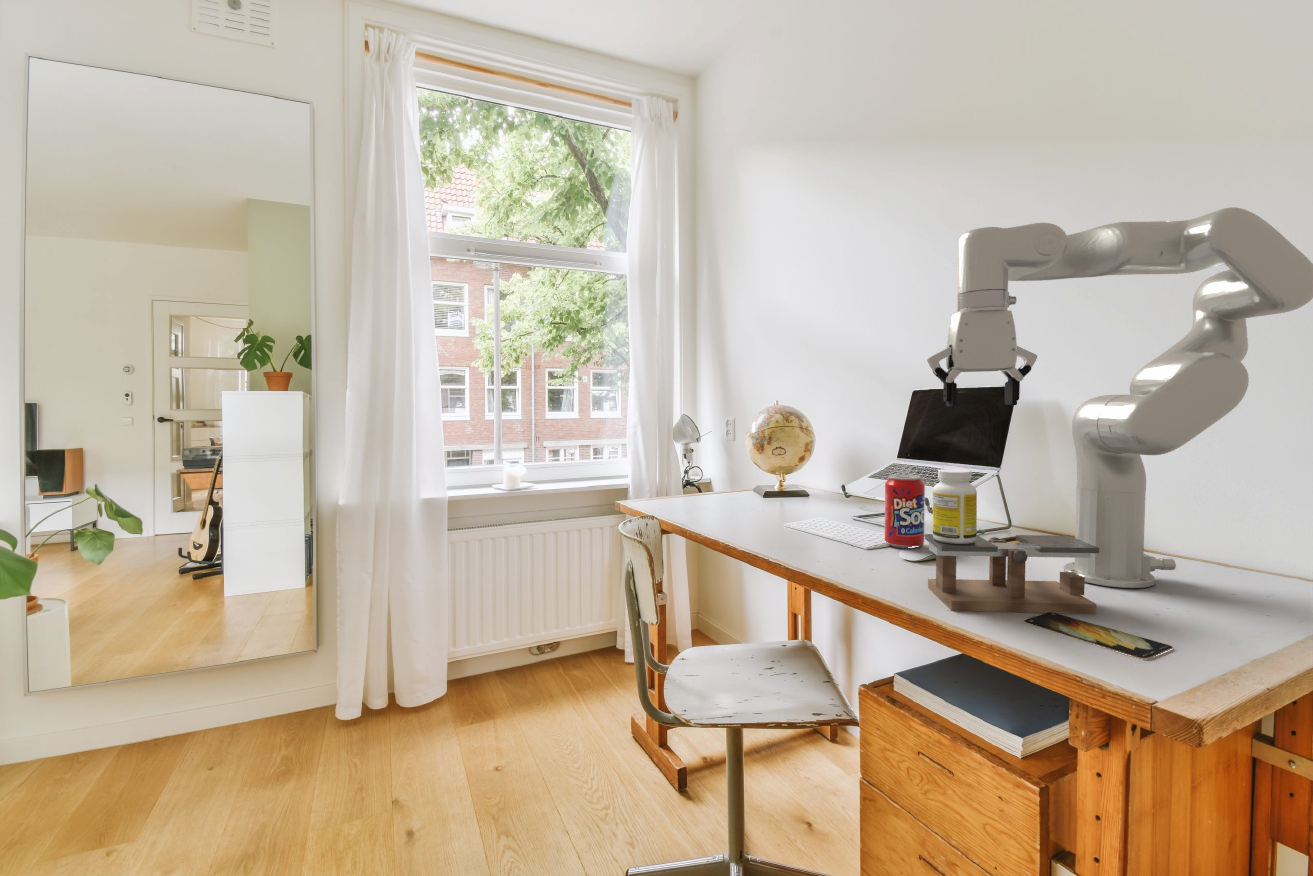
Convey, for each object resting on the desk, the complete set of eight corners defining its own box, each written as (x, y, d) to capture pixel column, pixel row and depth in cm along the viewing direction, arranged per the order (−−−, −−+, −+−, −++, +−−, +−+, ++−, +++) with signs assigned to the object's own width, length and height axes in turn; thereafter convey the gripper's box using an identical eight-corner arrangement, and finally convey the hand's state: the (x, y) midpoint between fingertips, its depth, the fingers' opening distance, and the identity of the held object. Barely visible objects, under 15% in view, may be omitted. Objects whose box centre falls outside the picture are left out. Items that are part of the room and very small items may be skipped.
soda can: (896, 539, 136) (896, 473, 135) (930, 545, 129) (931, 476, 128) (877, 545, 131) (877, 476, 130) (912, 552, 124) (913, 479, 124)
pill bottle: (967, 536, 98) (968, 468, 97) (983, 545, 92) (984, 472, 91) (927, 535, 98) (927, 468, 98) (940, 544, 92) (940, 472, 92)
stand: (1059, 590, 99) (1060, 536, 98) (1099, 614, 88) (1101, 553, 87) (927, 587, 101) (928, 535, 101) (951, 610, 91) (952, 551, 90)
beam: (1068, 547, 97) (1069, 535, 97) (1098, 561, 89) (1099, 547, 89) (924, 546, 100) (925, 534, 99) (941, 559, 92) (941, 546, 92)
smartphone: (1050, 611, 89) (1175, 646, 76) (1050, 615, 89) (1175, 651, 76) (1021, 620, 86) (1145, 658, 72) (1021, 624, 86) (1145, 664, 72)
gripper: (1025, 305, 105) (1024, 404, 106) (921, 309, 107) (921, 406, 108) (1048, 298, 98) (1046, 405, 99) (936, 303, 100) (935, 406, 101)
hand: (980, 405), depth 104 cm, fingers open, 9 cm apart
